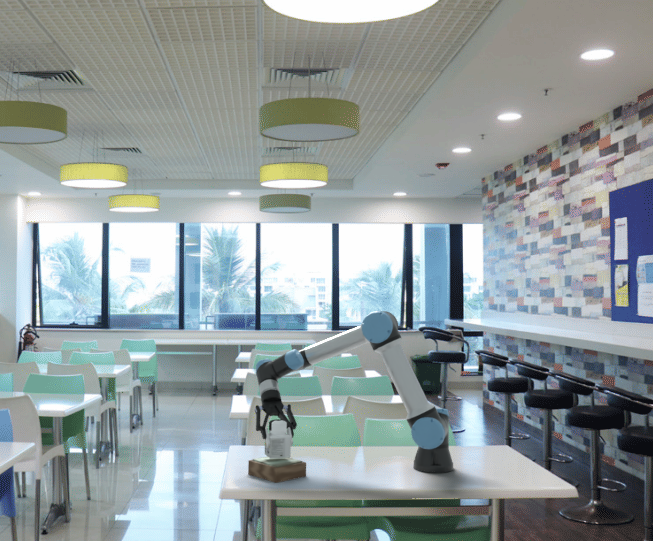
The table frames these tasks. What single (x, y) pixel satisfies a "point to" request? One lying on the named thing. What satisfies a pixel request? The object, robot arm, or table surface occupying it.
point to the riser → (277, 469)
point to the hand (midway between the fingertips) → (280, 445)
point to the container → (278, 440)
